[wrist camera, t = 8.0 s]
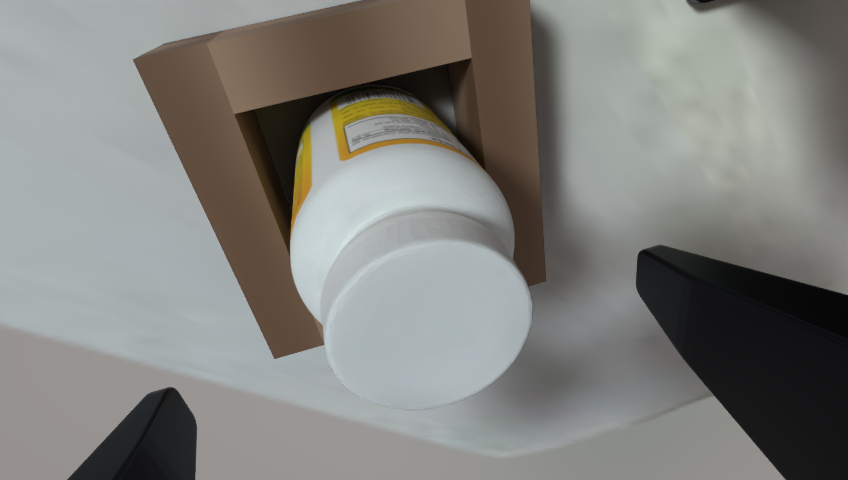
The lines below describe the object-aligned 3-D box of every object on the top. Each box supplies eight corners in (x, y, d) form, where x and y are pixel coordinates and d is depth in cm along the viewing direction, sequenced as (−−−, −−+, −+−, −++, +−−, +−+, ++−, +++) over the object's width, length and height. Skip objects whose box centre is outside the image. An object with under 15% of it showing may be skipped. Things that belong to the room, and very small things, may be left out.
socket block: (489, -28, 15) (527, -28, 12) (515, 241, 20) (545, 281, 17) (164, 43, 14) (132, 59, 11) (278, 307, 19) (274, 359, 17)
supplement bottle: (380, 45, 15) (469, 131, 7) (473, 163, 18) (616, 323, 10) (259, 156, 16) (215, 346, 8) (366, 252, 19) (414, 469, 11)
